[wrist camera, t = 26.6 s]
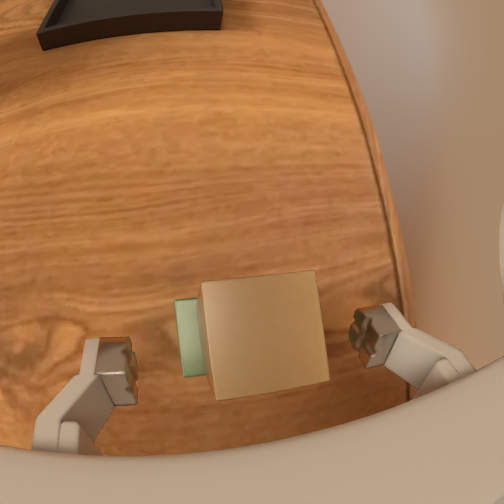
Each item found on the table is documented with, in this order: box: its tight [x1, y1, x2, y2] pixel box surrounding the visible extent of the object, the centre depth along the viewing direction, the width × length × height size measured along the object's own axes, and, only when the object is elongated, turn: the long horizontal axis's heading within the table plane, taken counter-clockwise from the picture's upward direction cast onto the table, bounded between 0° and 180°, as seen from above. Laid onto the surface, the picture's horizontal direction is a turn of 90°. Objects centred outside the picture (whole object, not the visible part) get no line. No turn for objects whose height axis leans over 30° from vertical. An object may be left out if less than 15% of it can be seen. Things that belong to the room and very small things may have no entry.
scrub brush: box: [174, 270, 330, 401], centre depth 12 cm, size 5×4×9 cm
